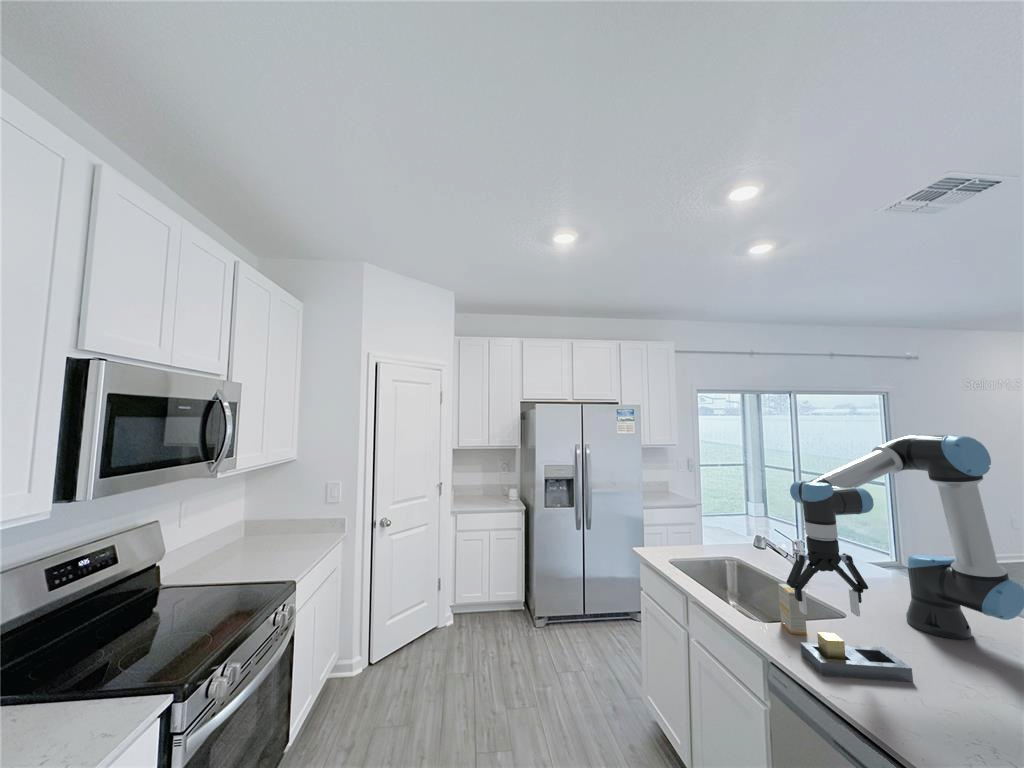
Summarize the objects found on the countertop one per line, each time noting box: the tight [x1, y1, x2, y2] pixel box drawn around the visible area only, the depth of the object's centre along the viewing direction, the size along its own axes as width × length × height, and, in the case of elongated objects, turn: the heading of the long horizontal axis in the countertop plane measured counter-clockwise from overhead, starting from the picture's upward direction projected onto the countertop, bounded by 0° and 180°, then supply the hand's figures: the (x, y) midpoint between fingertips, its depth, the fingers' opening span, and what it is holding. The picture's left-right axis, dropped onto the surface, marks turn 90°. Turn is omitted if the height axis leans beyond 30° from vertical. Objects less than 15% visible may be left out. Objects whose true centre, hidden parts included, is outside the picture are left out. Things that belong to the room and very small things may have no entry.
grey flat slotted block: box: [799, 641, 914, 683], centre depth 117 cm, size 22×10×4 cm, turn 81°
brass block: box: [816, 631, 846, 660], centre depth 118 cm, size 4×4×8 cm
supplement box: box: [777, 583, 808, 636], centre depth 139 cm, size 8×5×13 cm, turn 168°
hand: (829, 613), depth 119 cm, fingers open, 13 cm apart
